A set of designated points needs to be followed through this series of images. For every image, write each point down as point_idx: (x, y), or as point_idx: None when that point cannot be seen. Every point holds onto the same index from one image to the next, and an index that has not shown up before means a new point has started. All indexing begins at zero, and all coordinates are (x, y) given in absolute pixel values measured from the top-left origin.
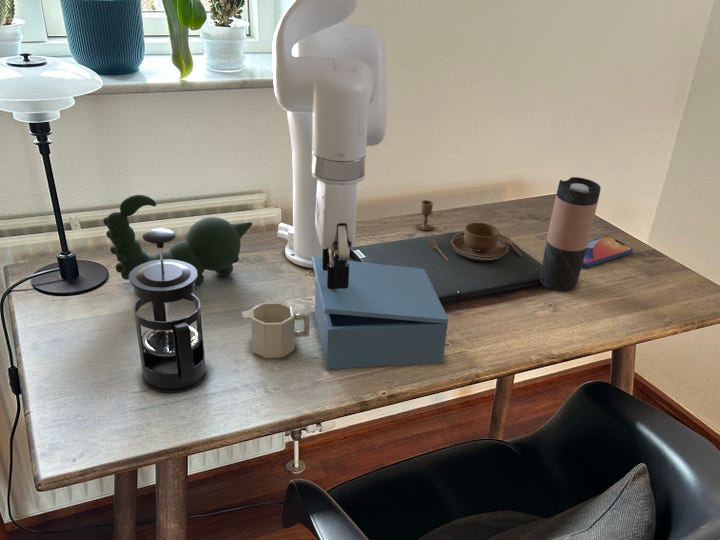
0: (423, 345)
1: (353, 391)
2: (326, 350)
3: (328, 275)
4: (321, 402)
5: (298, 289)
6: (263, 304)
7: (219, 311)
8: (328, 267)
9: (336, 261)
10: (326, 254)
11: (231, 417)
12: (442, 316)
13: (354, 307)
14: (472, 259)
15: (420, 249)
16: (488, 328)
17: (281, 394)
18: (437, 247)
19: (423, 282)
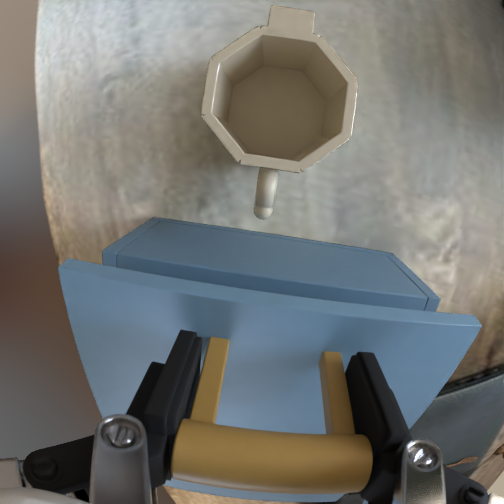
0: None
1: (81, 249)
2: (150, 229)
3: (163, 371)
4: (60, 182)
5: (486, 245)
6: (347, 82)
7: (447, 47)
8: (147, 405)
9: (28, 455)
10: (369, 419)
11: (63, 25)
12: None
13: (99, 362)
14: None
15: (471, 446)
16: None
17: (92, 107)
18: (458, 463)
19: (277, 496)
